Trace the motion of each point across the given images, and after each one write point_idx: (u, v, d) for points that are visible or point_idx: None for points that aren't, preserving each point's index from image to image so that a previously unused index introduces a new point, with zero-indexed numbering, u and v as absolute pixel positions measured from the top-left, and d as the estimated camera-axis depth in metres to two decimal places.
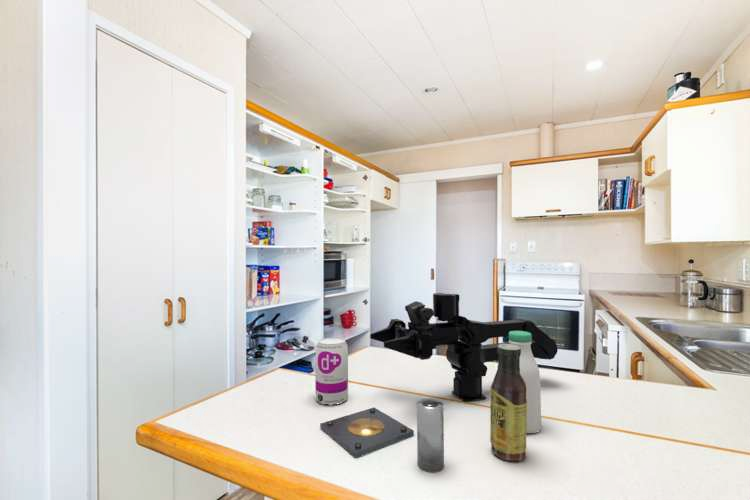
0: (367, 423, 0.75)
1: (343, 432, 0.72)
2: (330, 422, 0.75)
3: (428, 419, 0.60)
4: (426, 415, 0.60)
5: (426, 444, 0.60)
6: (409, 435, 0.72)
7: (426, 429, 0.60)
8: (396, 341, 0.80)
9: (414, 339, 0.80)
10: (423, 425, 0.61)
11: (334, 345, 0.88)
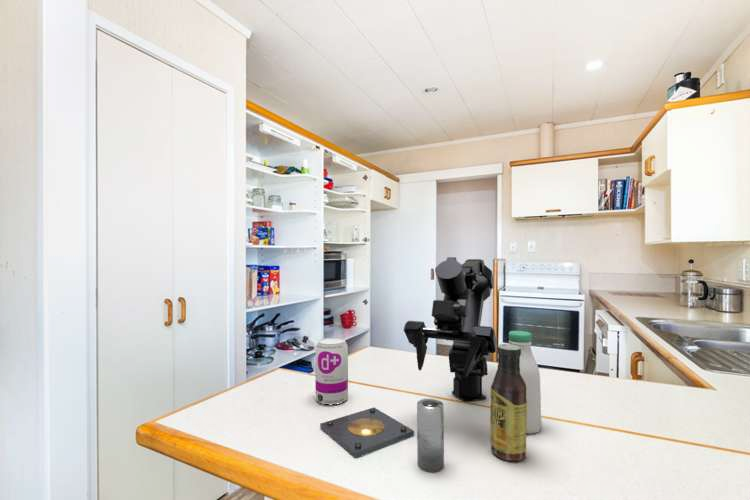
0: (367, 423, 0.75)
1: (343, 432, 0.72)
2: (330, 422, 0.75)
3: (428, 419, 0.60)
4: (426, 415, 0.60)
5: (426, 444, 0.60)
6: (409, 435, 0.72)
7: (426, 429, 0.60)
8: (471, 361, 0.69)
9: (481, 344, 0.71)
10: (423, 425, 0.61)
11: (334, 345, 0.88)
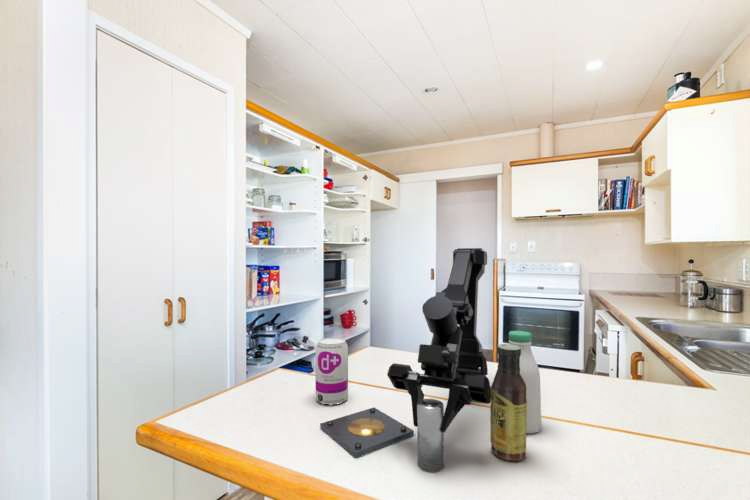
0: (367, 423, 0.75)
1: (343, 432, 0.72)
2: (330, 422, 0.75)
3: (428, 419, 0.60)
4: (426, 415, 0.60)
5: (426, 444, 0.60)
6: (409, 435, 0.72)
7: (426, 429, 0.60)
8: (450, 415, 0.61)
9: (462, 394, 0.63)
10: (423, 425, 0.61)
11: (334, 345, 0.88)
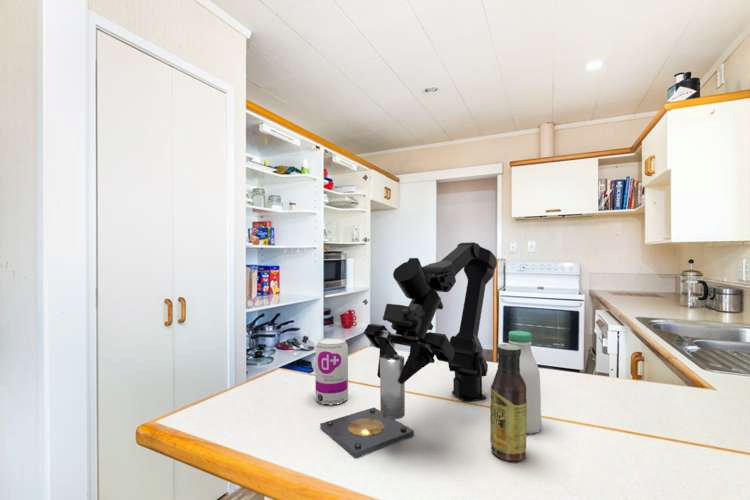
0: (367, 423, 0.75)
1: (343, 432, 0.72)
2: (330, 422, 0.75)
3: (386, 370, 0.65)
4: (385, 366, 0.66)
5: (385, 393, 0.65)
6: (409, 435, 0.72)
7: (385, 379, 0.66)
8: (408, 368, 0.66)
9: (422, 351, 0.67)
10: (382, 376, 0.66)
11: (334, 345, 0.88)
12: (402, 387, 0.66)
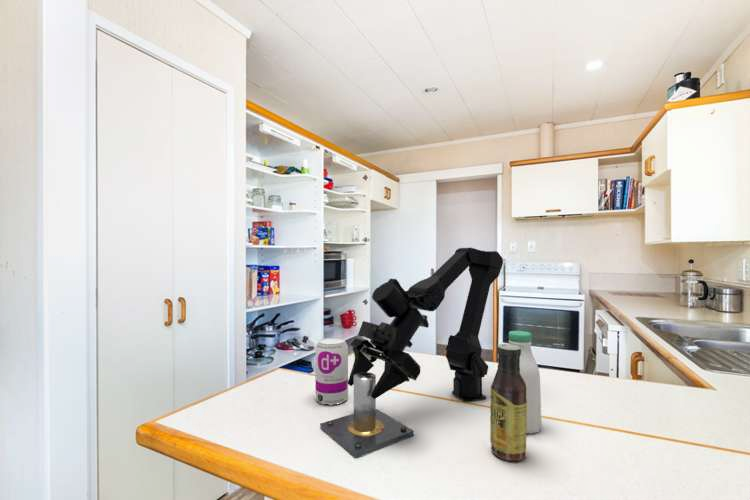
0: None
1: (343, 432, 0.72)
2: (330, 422, 0.75)
3: (356, 387, 0.72)
4: (355, 383, 0.73)
5: (355, 407, 0.73)
6: (409, 435, 0.72)
7: (355, 395, 0.73)
8: (381, 385, 0.70)
9: (395, 369, 0.70)
10: (354, 391, 0.73)
11: (334, 345, 0.88)
12: (371, 404, 0.72)
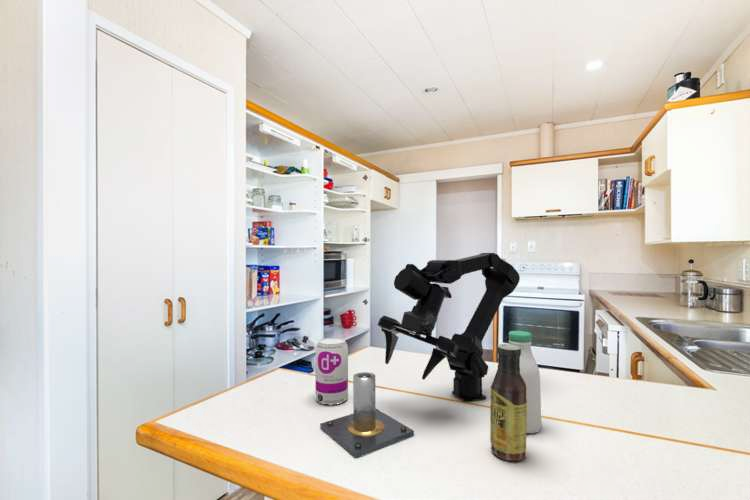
0: None
1: (343, 432, 0.72)
2: (330, 422, 0.75)
3: (356, 386, 0.72)
4: (355, 383, 0.73)
5: (355, 407, 0.73)
6: (409, 435, 0.72)
7: (355, 394, 0.73)
8: (430, 368, 0.78)
9: (442, 354, 0.78)
10: (353, 391, 0.73)
11: (334, 345, 0.88)
12: (370, 403, 0.72)
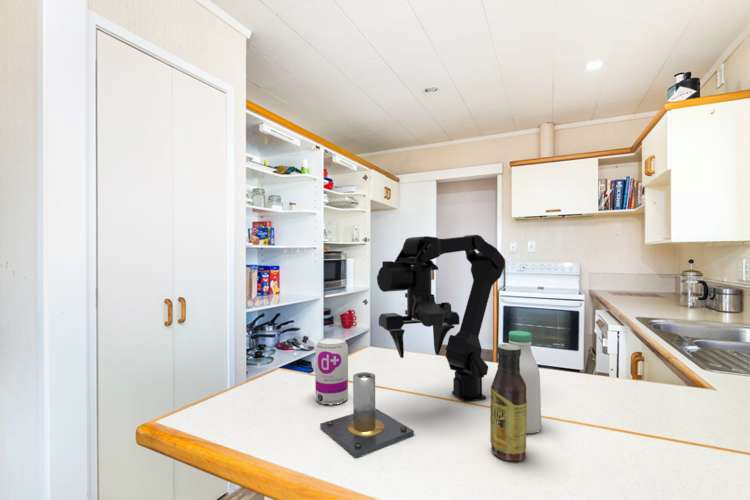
0: None
1: (343, 432, 0.72)
2: (330, 422, 0.75)
3: (356, 386, 0.72)
4: (355, 383, 0.73)
5: (355, 407, 0.73)
6: (409, 435, 0.72)
7: (355, 395, 0.73)
8: None
9: None
10: (353, 391, 0.73)
11: (334, 345, 0.88)
12: (370, 403, 0.72)
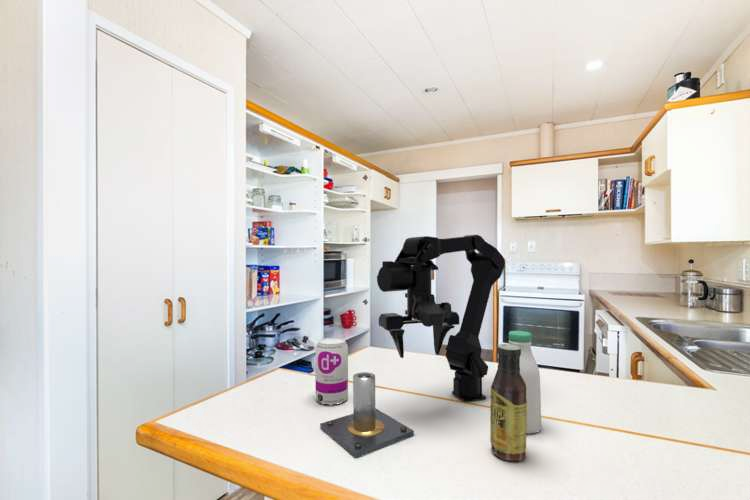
0: None
1: (343, 432, 0.72)
2: (330, 422, 0.75)
3: (356, 387, 0.72)
4: (355, 383, 0.73)
5: (355, 407, 0.73)
6: (409, 435, 0.72)
7: (355, 395, 0.73)
8: None
9: None
10: (353, 391, 0.73)
11: (334, 345, 0.88)
12: (370, 403, 0.72)
